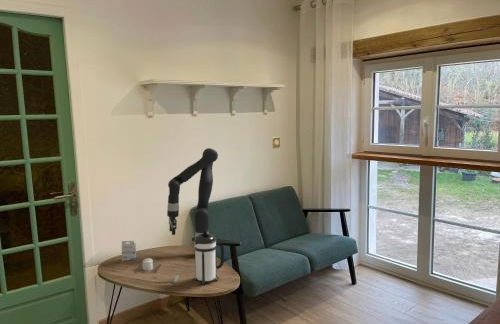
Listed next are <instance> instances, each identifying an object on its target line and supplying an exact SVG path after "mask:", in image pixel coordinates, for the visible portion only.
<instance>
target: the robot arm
mask: <svg viewBox="0 0 500 324" xmlns="http://www.w3.org/2000/svg"><path fill="white" fill-rule="evenodd" d="M218 158H219V154H218V151H216V150H215V149H214V148H212V147H211V148H210V147H209V148H205V149H204V150H203V152H202V157H201V158H200V159H198V160H197V161H195V162H194V163H193V164H191V165H189V166H188V167H186V168H185V169H183V171H181V172H180V173H178V174H177V175H175V176H174V177H173V178H171V179H170V180H168V183H167V186H168V198H167V201H168V202H167V210H166V211H167V212H166V213H167V215H166V216H167V217H168V226H169V229H168V230H169V232H171V235H172V236H175V235H176V230H177V224H178V223H177V222H178V220H177V219H176V218H178V217H179V216H180V204H179V203H180V196H179V195H180V191H181V190H180V189H181V185H182V184H184V183H186V182H188V181H189V180H190V179H192V178H193V177H194V176H195V175H197V173H199V172H200V176H199V182H198V190H197V191H198V194H197V195H198V198H197V204H196V210H195V212H194V213H195V214H194V227H195V228H194V230H195V238H196V236H198V235H200V234H204V233H203V232H204V231H207V233H208V234H210V233H209V232H210V231H209V230H210V229H209V225H210V224H209V223H210V221H209V202H210V198H211V195H212V192H213V190H212V189H213V186H214V185H213V183H214V177H213V166H214V162H217V160H218ZM195 238H194V239H195Z"/></svg>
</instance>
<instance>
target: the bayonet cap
mask: <svg viewBox="0 0 500 324" xmlns="http://www.w3.org/2000/svg"><path fill="white" fill-rule="evenodd" d="M142 264H143V270H145V271H148V270H151V269H153V264H154V261H153V259H152V258H150V257H149V258H144V259H143V260H142Z"/></svg>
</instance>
